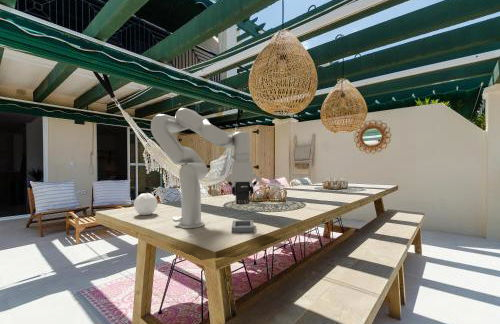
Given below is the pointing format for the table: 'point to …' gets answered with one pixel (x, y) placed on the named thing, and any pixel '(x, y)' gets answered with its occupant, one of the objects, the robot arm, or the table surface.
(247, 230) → the dock
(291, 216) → the table surface
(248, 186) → the battery
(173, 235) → the table surface
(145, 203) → the geodesic sphere
